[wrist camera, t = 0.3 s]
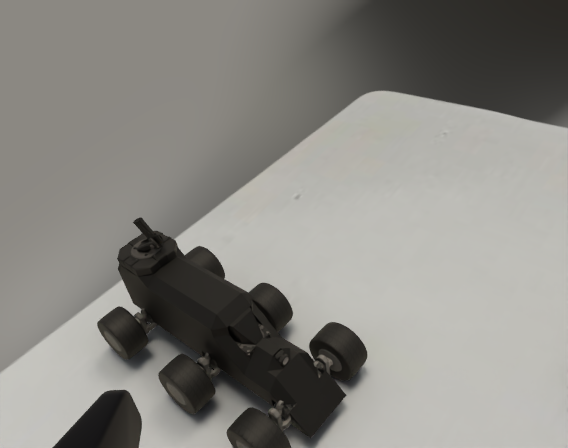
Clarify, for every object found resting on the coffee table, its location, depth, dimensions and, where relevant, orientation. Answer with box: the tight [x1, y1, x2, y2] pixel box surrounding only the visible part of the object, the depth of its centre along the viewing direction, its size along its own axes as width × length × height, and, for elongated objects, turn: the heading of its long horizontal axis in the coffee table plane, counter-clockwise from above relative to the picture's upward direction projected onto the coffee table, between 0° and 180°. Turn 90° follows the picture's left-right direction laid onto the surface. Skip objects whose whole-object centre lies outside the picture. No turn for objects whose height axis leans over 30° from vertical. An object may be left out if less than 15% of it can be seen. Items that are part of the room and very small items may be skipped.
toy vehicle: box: [97, 218, 367, 448], centre depth 29 cm, size 8×15×9 cm, turn 49°
